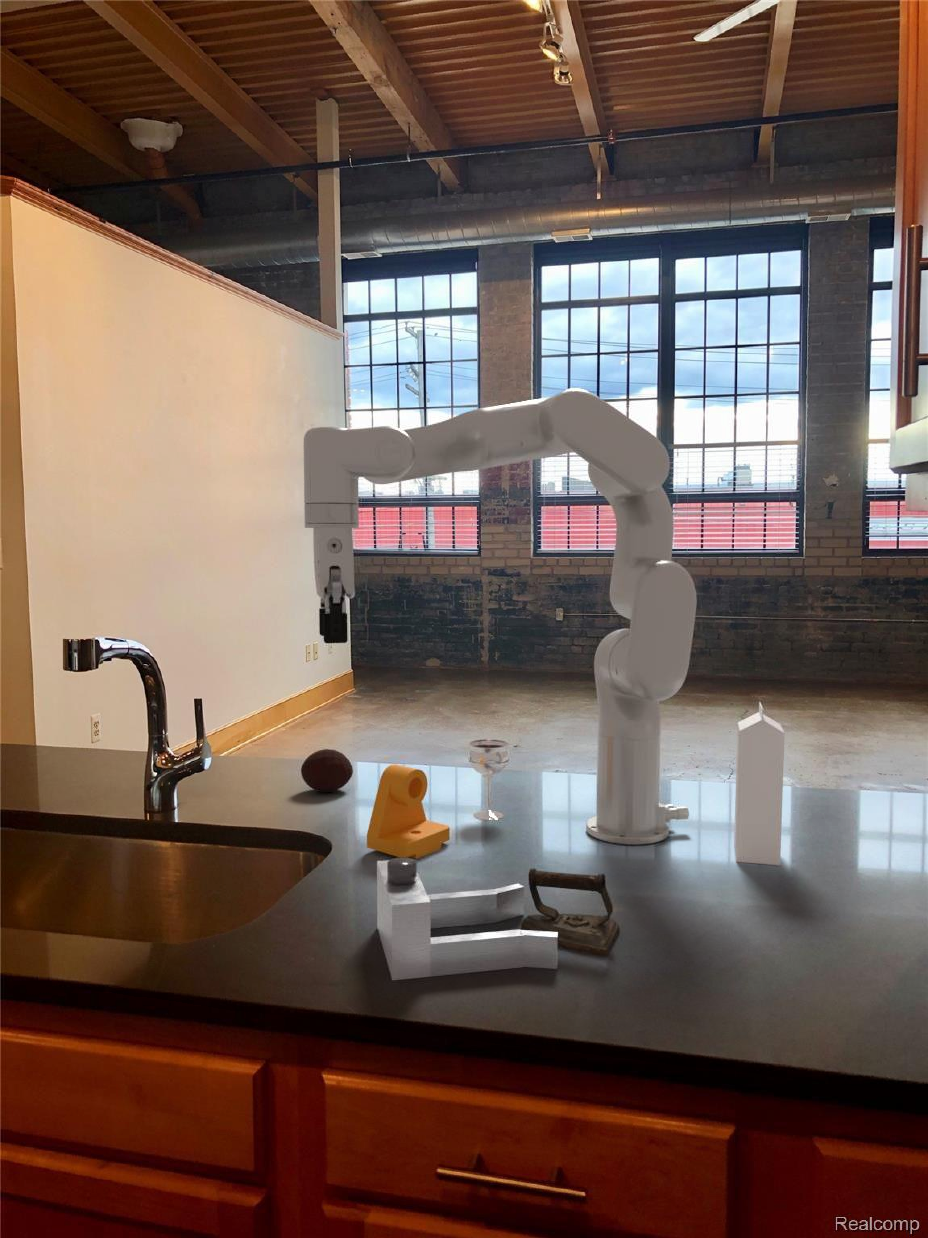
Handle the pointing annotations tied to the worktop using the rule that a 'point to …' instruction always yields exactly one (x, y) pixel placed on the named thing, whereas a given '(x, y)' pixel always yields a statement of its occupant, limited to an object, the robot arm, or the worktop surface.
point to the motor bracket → (415, 913)
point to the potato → (326, 770)
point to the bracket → (403, 816)
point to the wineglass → (488, 767)
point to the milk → (759, 790)
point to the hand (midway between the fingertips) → (333, 639)
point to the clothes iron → (573, 928)
